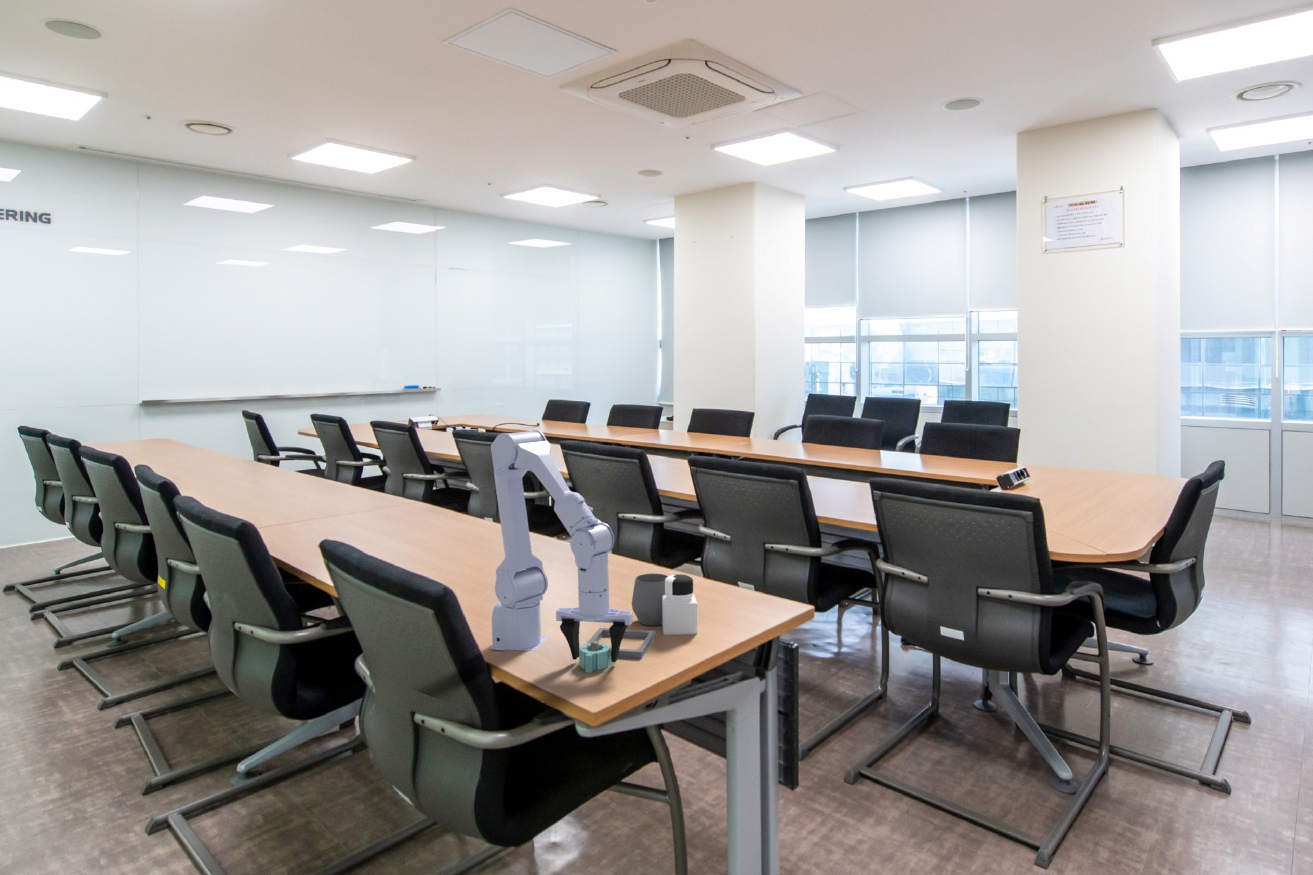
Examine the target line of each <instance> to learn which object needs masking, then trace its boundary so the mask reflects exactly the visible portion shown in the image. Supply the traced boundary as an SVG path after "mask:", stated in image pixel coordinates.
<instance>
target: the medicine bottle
mask: <svg viewBox="0 0 1313 875" xmlns="http://www.w3.org/2000/svg"><path fill="white" fill-rule="evenodd" d="M661 625H662V632H663V635H664V636H667V635H668V636H669V635H697V634H698V602H697V599H696V595H695V594H694V579H693V577H691V576H690V575H686V574H672V575H669V577H667V578H666V579H665V595H663V596H662V624H661Z"/></svg>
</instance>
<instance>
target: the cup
mask: <svg viewBox="0 0 1313 875" xmlns="http://www.w3.org/2000/svg"><path fill="white" fill-rule="evenodd" d="M669 576H670V575H669ZM669 576H668V575H667V574H662V573H654V572H653V573H645V574H639V575H637V576H636V577H634V578H635V579H634V586H633V591H632V593H633V594H632V597H631V598H632V599H631V608H632V612H633V613H634V616H635V617H636V618H637V621H638V622H639V623H641V624H643V625H646V626H660V625H662V596H663V595H665V579H666V578H667V577H669Z"/></svg>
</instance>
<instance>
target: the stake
mask: <svg viewBox="0 0 1313 875" xmlns="http://www.w3.org/2000/svg"><path fill="white" fill-rule="evenodd" d="M599 643H600V642H599V641H593V642H591V651H598V650H599ZM618 659H619V658H618ZM618 659H617V661H618ZM615 664H616V662H612V661H611V664H610V665H609V667H607V668H604V669H600V670H594V671H593V672H592V673H601V674H602V673H604V674H608V673H609V672H610V671H611V669H612V668H613V667H614V666H615ZM571 671H577V672H585V669H583V668H582V667H581V666H580V665H579V661H578V662H577V663H576V664H575V665H574V667H572V669H571Z"/></svg>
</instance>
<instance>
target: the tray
mask: <svg viewBox="0 0 1313 875" xmlns="http://www.w3.org/2000/svg"><path fill="white" fill-rule="evenodd" d="M609 628H610V627H608V628H607V627H599V628H598V629H597V631H596V632H595V633H594V634H593V635H592V636H591V637H590V639H589V640H588V641H587V642H586V643H585V644H588V643H591V642H593V641H598V642H599V641H600V640H601V639H602V637H603V636H604V637H605V636H607V637H610V632H609ZM623 638H636V639H638V638H639V639H644V640H643V642H642V643H641V645H640V646H639V648H638V649H628V648H627V649H626V648H619V654H618V658H626V659H627V658H628V659H629V658H630V659H631V658H632V659H643V657H644V656H645V654H646V653H647V651H648V649H649V648H650V647H651V644H652V643H653V641H654V640H655V638H656V631H655V630H642V629H641V630H640V629H627V628H626V630H625V633H624V635H623Z"/></svg>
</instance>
